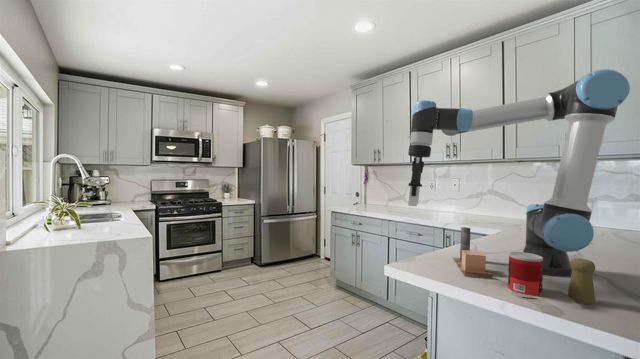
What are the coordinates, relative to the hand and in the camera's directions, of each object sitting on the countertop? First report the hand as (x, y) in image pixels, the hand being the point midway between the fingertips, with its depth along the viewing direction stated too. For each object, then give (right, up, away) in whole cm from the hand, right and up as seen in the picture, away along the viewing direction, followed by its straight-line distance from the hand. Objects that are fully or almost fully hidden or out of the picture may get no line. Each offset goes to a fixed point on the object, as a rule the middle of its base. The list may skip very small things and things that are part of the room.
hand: (413, 204), depth 110 cm
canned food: (+24, -23, -23) cm, 41 cm away
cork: (+37, -24, -27) cm, 52 cm away
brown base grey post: (+19, -22, -3) cm, 29 cm away
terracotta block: (+18, -21, -7) cm, 29 cm away
